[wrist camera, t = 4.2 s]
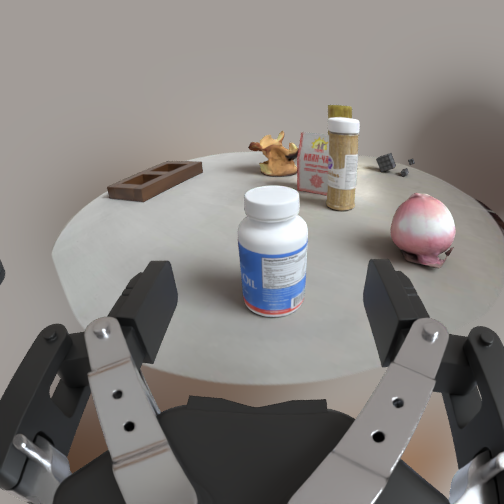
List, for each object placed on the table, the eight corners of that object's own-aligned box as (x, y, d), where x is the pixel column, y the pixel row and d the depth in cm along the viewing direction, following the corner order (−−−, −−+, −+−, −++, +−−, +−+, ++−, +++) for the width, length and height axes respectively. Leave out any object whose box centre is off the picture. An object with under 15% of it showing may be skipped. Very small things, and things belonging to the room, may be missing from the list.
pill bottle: (239, 285, 28) (230, 185, 24) (294, 277, 29) (295, 179, 24) (248, 324, 24) (239, 211, 19) (312, 313, 24) (320, 202, 20)
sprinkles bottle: (320, 203, 45) (321, 116, 39) (342, 199, 47) (345, 116, 40) (338, 213, 42) (341, 120, 35) (361, 208, 43) (366, 120, 36)
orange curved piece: (243, 173, 63) (240, 135, 58) (270, 163, 69) (269, 129, 65) (291, 181, 56) (290, 138, 51) (315, 170, 62) (315, 133, 58)
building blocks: (379, 156, 63) (409, 147, 57) (387, 178, 64) (417, 169, 58) (376, 159, 61) (407, 148, 55) (384, 181, 62) (416, 172, 56)
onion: (431, 239, 34) (441, 187, 30) (459, 272, 27) (476, 213, 24) (378, 240, 35) (385, 184, 31) (401, 276, 28) (414, 210, 24)
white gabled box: (306, 184, 54) (306, 131, 49) (340, 190, 50) (342, 134, 45) (297, 190, 51) (296, 133, 46) (333, 196, 48) (335, 137, 43)
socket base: (202, 172, 66) (201, 161, 64) (143, 202, 51) (141, 189, 50) (168, 170, 70) (166, 161, 69) (109, 198, 56) (106, 186, 54)
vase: (339, 172, 61) (340, 106, 54) (320, 165, 66) (320, 104, 58) (357, 168, 63) (359, 107, 56) (338, 162, 68) (339, 105, 61)
